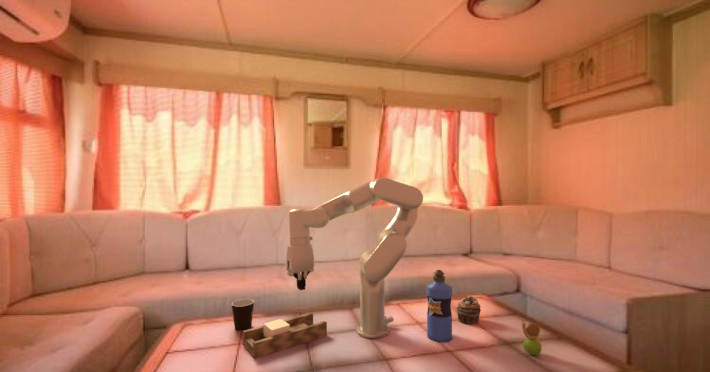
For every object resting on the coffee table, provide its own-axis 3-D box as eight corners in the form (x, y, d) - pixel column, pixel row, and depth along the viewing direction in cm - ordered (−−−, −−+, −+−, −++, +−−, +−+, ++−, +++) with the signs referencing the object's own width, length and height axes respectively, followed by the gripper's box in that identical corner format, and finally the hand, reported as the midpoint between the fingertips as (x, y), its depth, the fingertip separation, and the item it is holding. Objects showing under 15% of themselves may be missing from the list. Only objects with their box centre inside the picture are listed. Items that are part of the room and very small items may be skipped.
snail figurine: (517, 350, 114) (517, 315, 114) (534, 349, 114) (534, 315, 114) (526, 359, 108) (526, 322, 108) (545, 358, 109) (545, 321, 109)
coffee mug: (247, 332, 130) (247, 307, 129) (227, 330, 131) (227, 305, 131) (261, 320, 141) (261, 297, 141) (243, 319, 143) (242, 296, 143)
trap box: (311, 324, 136) (311, 312, 136) (326, 335, 127) (326, 322, 127) (243, 344, 120) (243, 331, 120) (254, 358, 110) (254, 343, 110)
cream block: (281, 329, 125) (281, 318, 125) (290, 335, 120) (289, 324, 120) (263, 334, 121) (263, 323, 121) (271, 341, 116) (271, 330, 116)
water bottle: (435, 329, 131) (435, 266, 131) (457, 336, 125) (456, 270, 125) (422, 336, 125) (421, 270, 125) (444, 345, 118) (443, 275, 118)
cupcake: (470, 315, 145) (470, 292, 145) (485, 324, 136) (485, 299, 136) (451, 318, 142) (451, 294, 142) (465, 327, 133) (465, 302, 133)
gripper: (312, 237, 134) (313, 283, 134) (277, 242, 125) (279, 291, 125) (321, 240, 128) (323, 287, 128) (286, 245, 119) (287, 296, 119)
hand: (301, 289), depth 127 cm, fingers closed
